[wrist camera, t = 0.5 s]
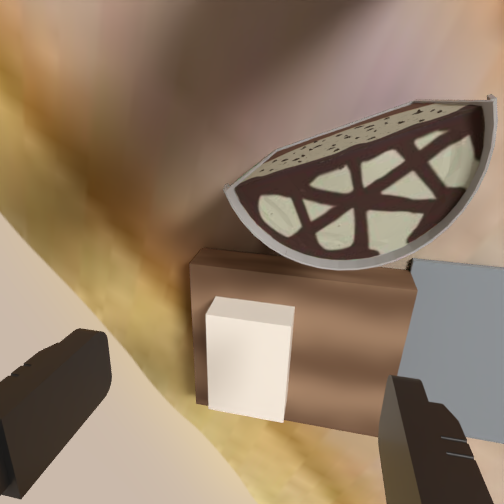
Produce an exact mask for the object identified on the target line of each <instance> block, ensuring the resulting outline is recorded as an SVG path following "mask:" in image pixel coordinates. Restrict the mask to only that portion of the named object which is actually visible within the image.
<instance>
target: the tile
mask: <svg viewBox="0 0 504 504" xmlns="http://www.w3.org/2000/svg"><path fill="white" fill-rule="evenodd" d="M294 312H295V307H294V306H286V305H278V304H271V303H263V302H256V301H248V300H241V299H233V298H225V297H218V296H216V297H215V299H214V300H213V302H212V304H211V306H210V308H209V309H208V311H207V313H206V343H207V375H208V406H209V409H212V410H217V411H222V412H228V413H233V414H238V415H244V416H249V417H254V418H260V419H265V420H271V421H276V422H281V423H283V421H284V415H285V408H286V402H287V393H288V381H289V370H290V358H291V347H292V335H293V323H294Z"/></svg>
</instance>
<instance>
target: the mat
mask: <svg viewBox="0 0 504 504" xmlns="http://www.w3.org/2000/svg"><path fill="white" fill-rule="evenodd" d="M410 272H411V275H412V277H413V280H414V282H415V285H416V287H417V290H418V292H417V296H416V300H415V304H414V308H413V312H412V317H411V321H410V325H409V329H408V333H407V337H406V341H405V345H404V349H403V354H402V358H401V362H400V366H399V370H398V374H397V376H401V377H408V378H415V379H420V380H421V381H422V383H423V386H424V389H425V392H426V395H427V398H428V401H429V402H435V403H441V404H444V405H445V407H446V408H447V409H448V410H449V411H450V412H451V413H452V414H453V415H454V416H455V417H456V419H457V420H458V421H459V423H460V425H461V427H462V430H463V432H464V434H465V437H469V438H474V439H480V440H485V441H491V442H497V443H502V444H504V268H502V267H492V266H483V265H473V264H463V263H454V262H444V261H435V260H425V259H415V258H413V259H412V263H411V268H410Z"/></svg>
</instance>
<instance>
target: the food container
mask: <svg viewBox="0 0 504 504" xmlns="http://www.w3.org/2000/svg"><path fill="white" fill-rule="evenodd" d="M497 123H498V117H497V98H496V97H495V96H493V95H492V94H490V95H487V100H414V101H411V102H408V103H406V104H403V105H400V106H397V107H394V108H392V109H389V110H386V111H383V112H380V113H377V114H375V115H372V116H369V117H366V118H363V119H361V120H358V121H355V122H352V123H349V124H346V125H344V126H341V127H338V128H335V129H332V130H329V131H327V132H324V133H321V134H318V135H315V136H313V137H310V138H307V139H304V140H301V141H298V142H296V143H293V144H290V145H287V146H284V147H282V148H279V149H276V150H274V151H273V152H272V153H270V154H269V155H268V156H267V157H265V158H264V159H263V160H262V161H260V162H259V163H258V164H257V165H255V166H254V167H253V168H252V169H250V170H249V171H248V172H247V173H245V174H244V175H243V176H242V177H240V178H239V179H238V180H237V181H235V182H234V183H233V184H232V185H230V186H229V184H228V183H227V184H225V186H224V188H223V191H224V193H225V195H226V197H227V199H228V201H229V203H230V205H231V207H232V208H233V210H234V211H235V213H236V214H237V216H238V217H239V219H240V220H241V221H242V223H243V224H244V225H245V226H246V227H247V228H248V229H249V230H250V231H251V232H252V234H253V235H254V236H255V237H257V238H258V239H259V240H260V241H262V242H263V243H264V244H265V245H267V246H268V247H269V248H271V249H272V250H274V251H276V252H277V253H279V254H281V255H283V256H284V257H287V258H289V259H291V260H294V261H296V262H299V263H301V264H305V265H308V266H312V267H316V268H321V269H330V270H360V269H367V268H373V267H378V266H381V265H385V264H388V263H391V262H395V261H397V260H399V259H402V258H404V257H406V256H408V255H410V254H413V253H415V252H416V251H418V250H419V249H421V248H423V247H424V246H426V245H427V244H429V243H431V242H432V241H433V240H435V239H436V238H437V237H438V236H439V235H440V234H442V233H443V232H444V231H445V230H446V229H448V228H449V227H450V226H451V225H452V223H453V222H454V221H455V220H456V219H457V218H458V217H459V216H460V215H461V213H462V212H463V211H464V210H465V208H466V207H467V205H468V204H469V202H470V201H471V199H472V198H473V196H474V195H475V194H476V192H477V191H478V188H479V186H480V184H481V182H482V180H483V178H484V176H485V174H486V172H487V169H488V166H489V163H490V160H491V156H492V153H493V149H494V146H495V139H496V131H497Z"/></svg>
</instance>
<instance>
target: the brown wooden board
mask: <svg viewBox="0 0 504 504" xmlns="http://www.w3.org/2000/svg"><path fill="white" fill-rule="evenodd" d="M189 268H190V288H191V308H192V327H193V347H194V367H195V387H196V404H201V405H206V406H208V375H207V343H206V313H207V311H208V309H209V308H210V306H211V304H212V302H213V300H214V299H215V297H216V296H218V297H225V298H233V299H241V300H248V301H256V302H263V303H271V304H278V305H286V306H294V307H295V312H294V323H293V335H292V347H291V358H290V370H289V381H288V393H287V402H286V408H285V415H284V420H287V421H293V422H298V423H304V424H309V425H314V426H320V427H325V428H331V429H336V430H341V431H347V432H352V433H358V434H363V435H368V436H374V437H378V430H379V421H380V415H381V410H382V404H383V399H384V393H385V388H386V383H387V379H388V376H389V375H395V376H397V374H398V370H399V366H400V362H401V358H402V354H403V349H404V345H405V341H406V337H407V333H408V329H409V325H410V321H411V317H412V312H413V308H414V304H415V300H416V296H417V292H418V290H417V287H416V285H415V282H414V280H413V277H412V275H411V272H410V270H401V269H392V268H383V267H373V268H367V269H360V270H330V269H321V268H316V267H312V266H308V265H305V264H301V263H299V262H296V261H294V260H291V259H289V258H287V257H282V256H273V255H264V254H255V253H246V252H237V251H227V250H218V249H209V248H202V249H201V250H200V251H199V252H198V254H197V255H196V256H195V257H194V259H193V260H192V261H191V262H190V264H189Z"/></svg>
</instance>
